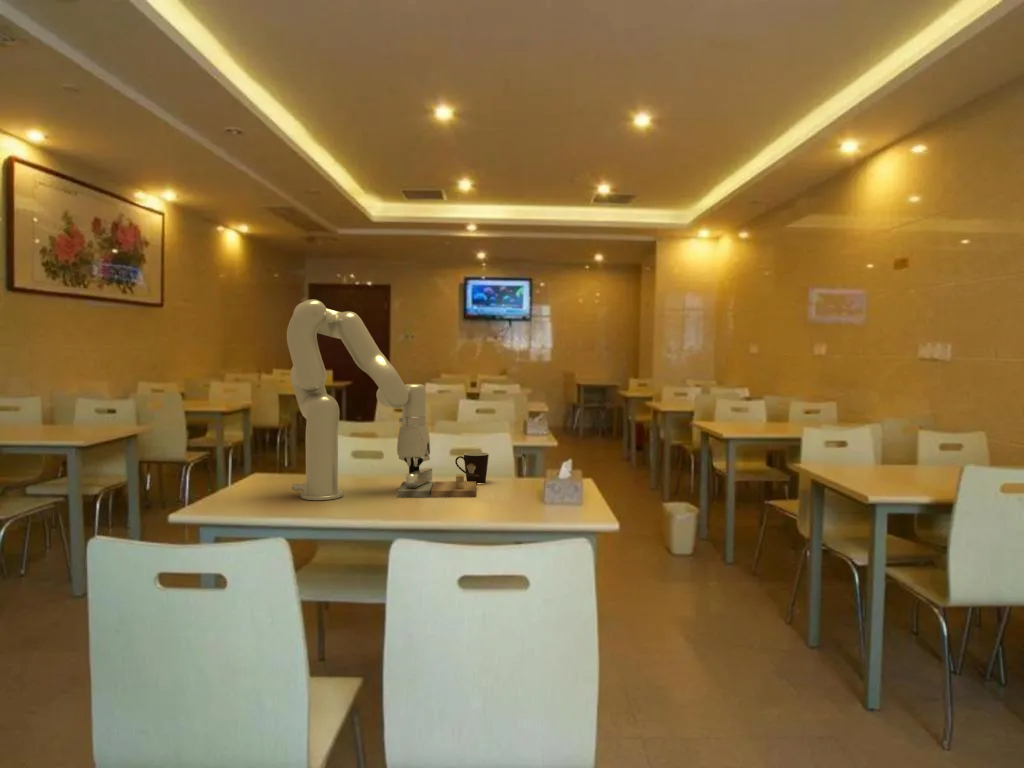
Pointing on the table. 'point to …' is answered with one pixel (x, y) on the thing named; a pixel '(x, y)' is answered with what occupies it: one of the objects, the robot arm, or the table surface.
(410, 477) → the lock bar
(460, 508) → the table surface
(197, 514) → the table surface
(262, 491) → the table surface
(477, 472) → the coffee mug
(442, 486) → the wooden flat block
